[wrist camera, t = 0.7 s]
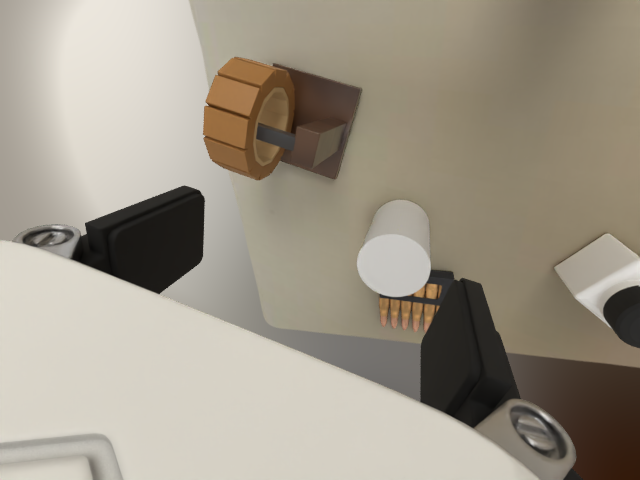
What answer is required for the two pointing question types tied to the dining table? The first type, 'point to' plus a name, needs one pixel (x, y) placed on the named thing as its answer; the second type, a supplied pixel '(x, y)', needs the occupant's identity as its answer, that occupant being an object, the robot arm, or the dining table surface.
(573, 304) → the dining table surface
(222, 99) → the segmented brown cylinder
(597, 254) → the medicine bottle
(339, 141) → the hook stand
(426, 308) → the ammunition clip
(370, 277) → the cup
